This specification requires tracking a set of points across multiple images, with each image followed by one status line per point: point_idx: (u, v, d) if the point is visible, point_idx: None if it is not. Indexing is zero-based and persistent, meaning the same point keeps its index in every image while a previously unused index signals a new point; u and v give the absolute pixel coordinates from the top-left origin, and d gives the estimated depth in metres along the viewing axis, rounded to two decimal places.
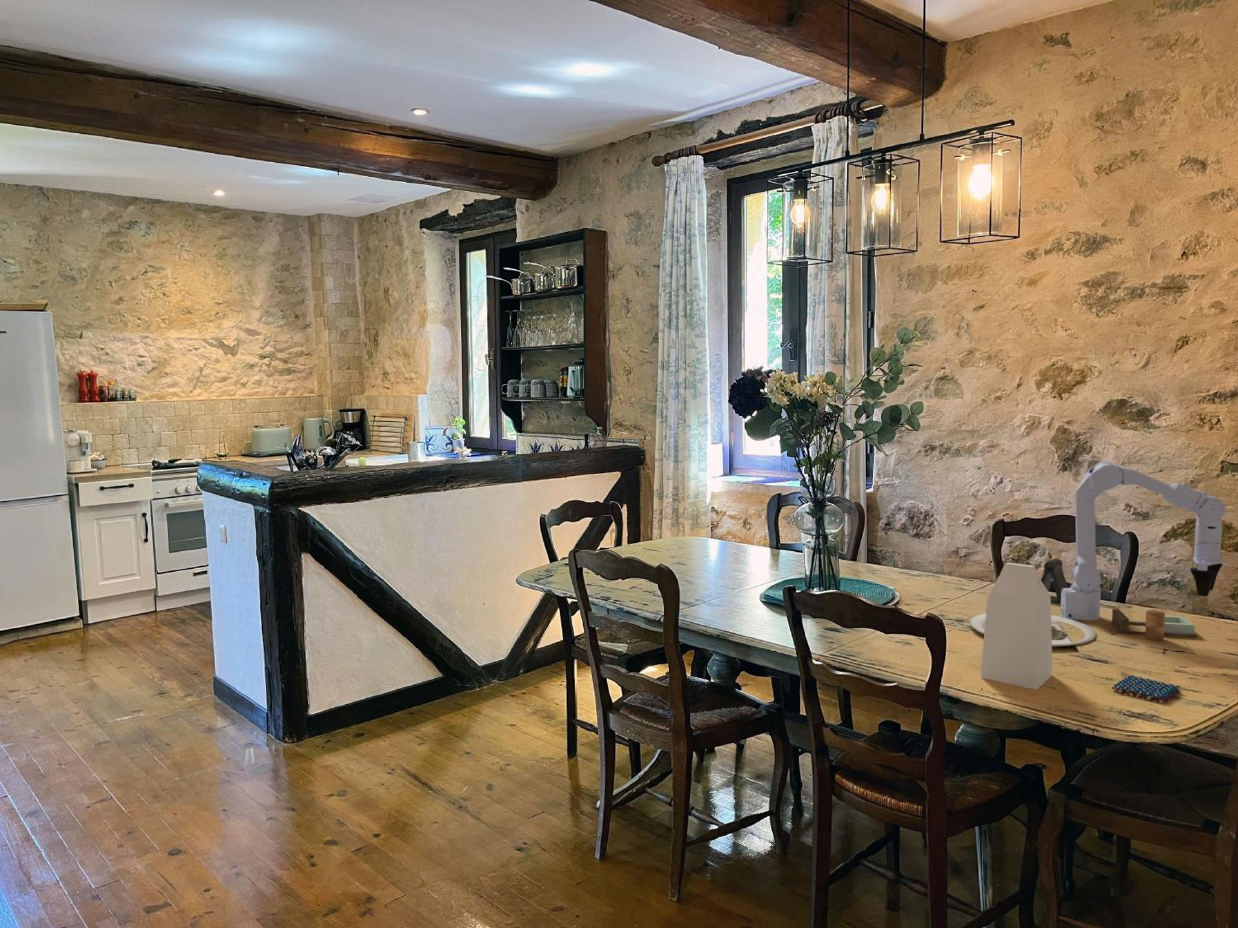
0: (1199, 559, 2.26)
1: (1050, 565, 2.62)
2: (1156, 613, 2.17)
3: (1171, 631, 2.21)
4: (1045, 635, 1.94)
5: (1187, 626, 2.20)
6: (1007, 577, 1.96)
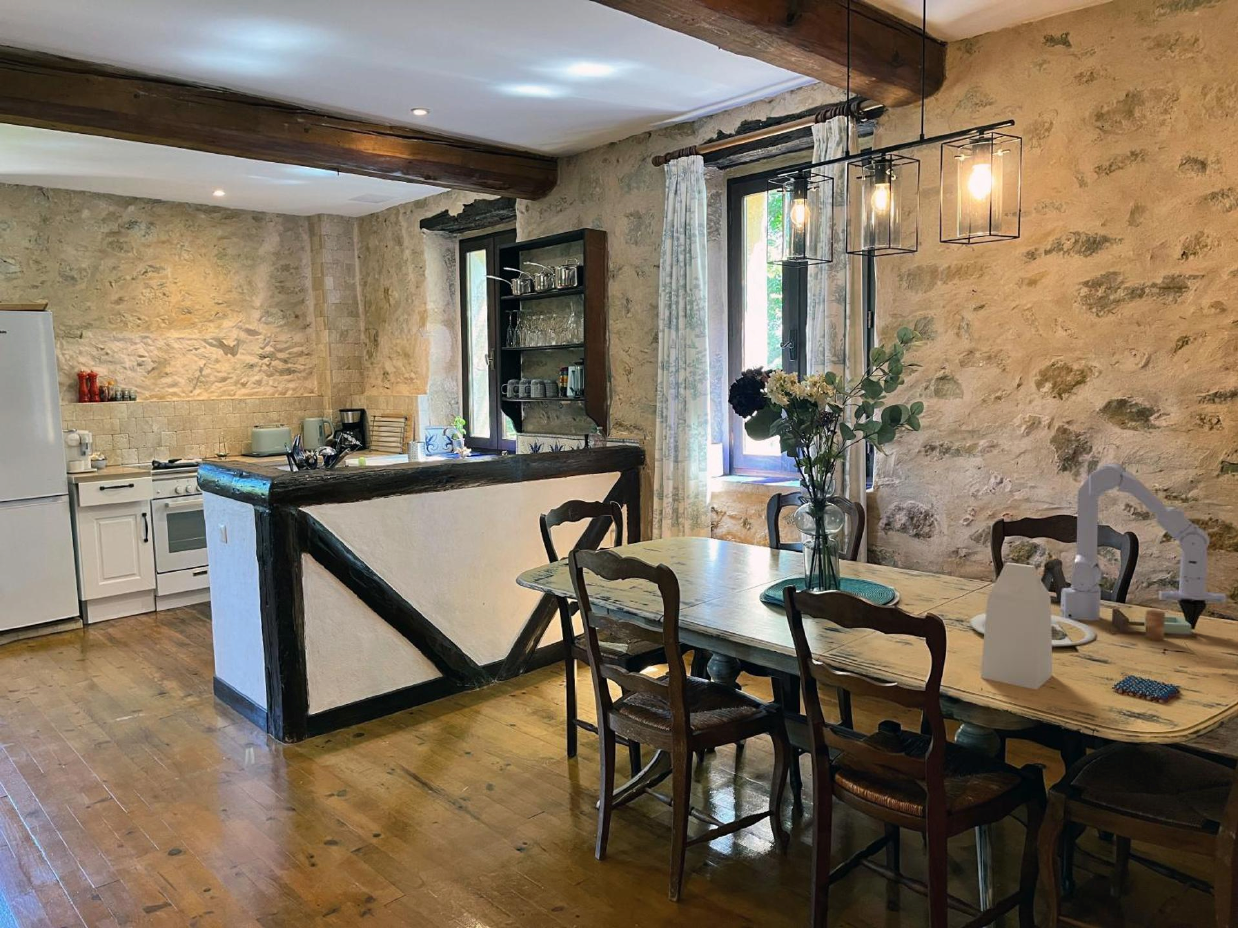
0: (1178, 591, 2.24)
1: (1050, 565, 2.62)
2: (1156, 613, 2.17)
3: (1168, 631, 2.21)
4: (1045, 635, 1.94)
5: (1184, 626, 2.20)
6: (1007, 577, 1.96)
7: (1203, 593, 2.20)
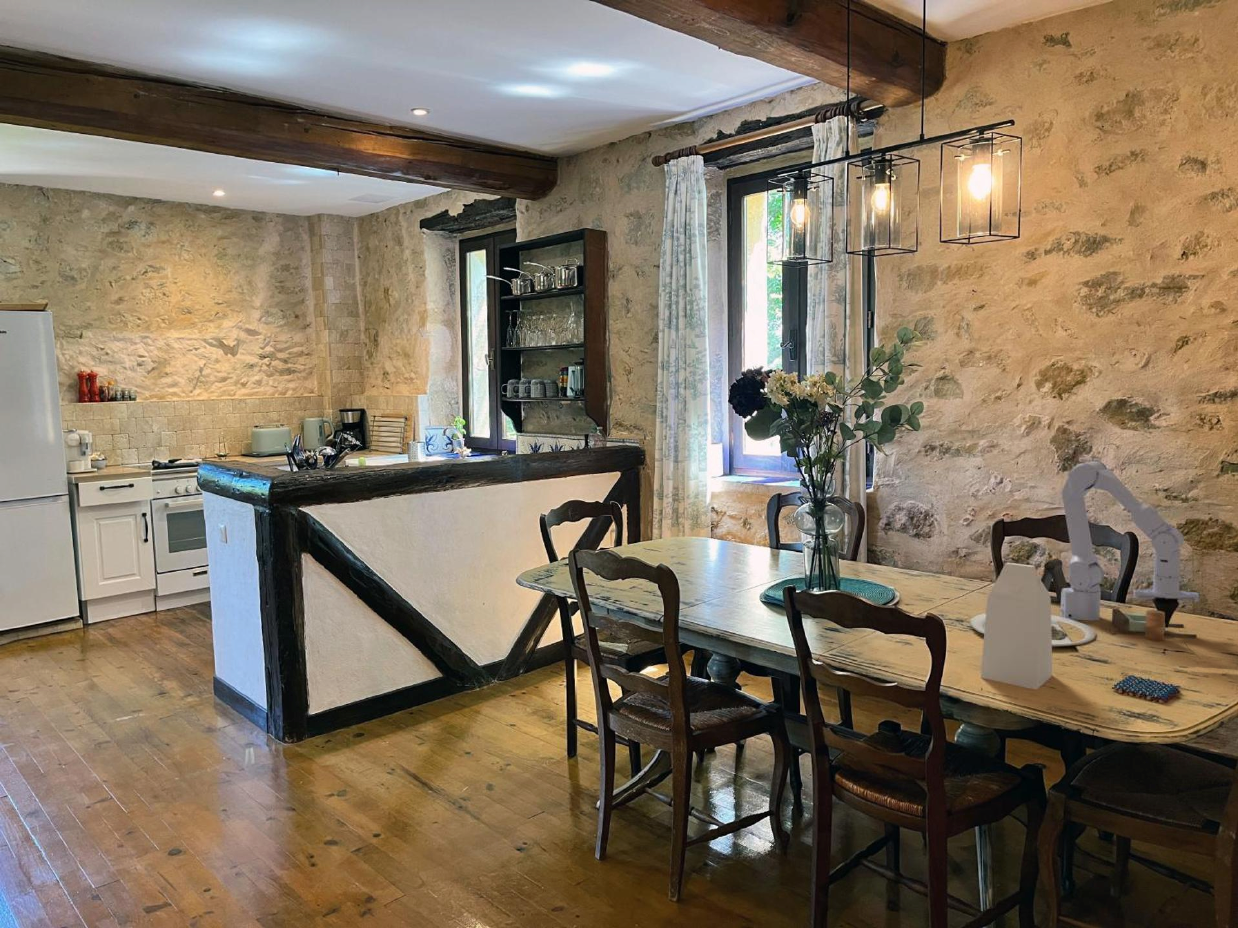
0: (1152, 590, 2.26)
1: (1050, 565, 2.62)
2: (1156, 613, 2.17)
3: (1142, 629, 2.23)
4: (1045, 635, 1.94)
5: None
6: (1007, 577, 1.96)
7: (1176, 592, 2.21)
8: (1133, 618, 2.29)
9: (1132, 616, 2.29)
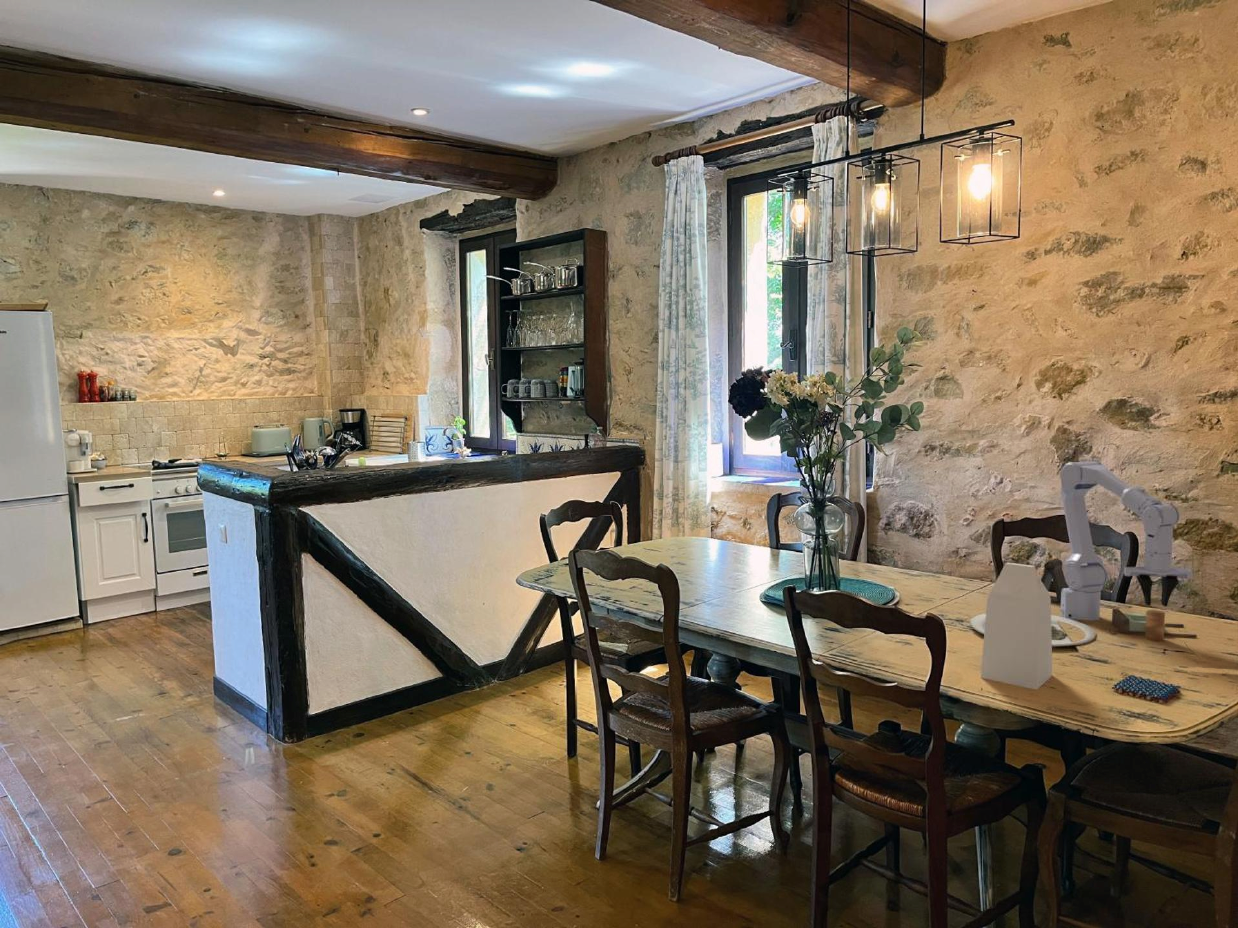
0: (1144, 567, 2.19)
1: (1050, 565, 2.62)
2: (1156, 613, 2.17)
3: (1142, 629, 2.23)
4: (1045, 635, 1.94)
5: None
6: (1007, 577, 1.96)
7: (1168, 568, 2.14)
8: (1133, 618, 2.29)
9: (1132, 616, 2.29)
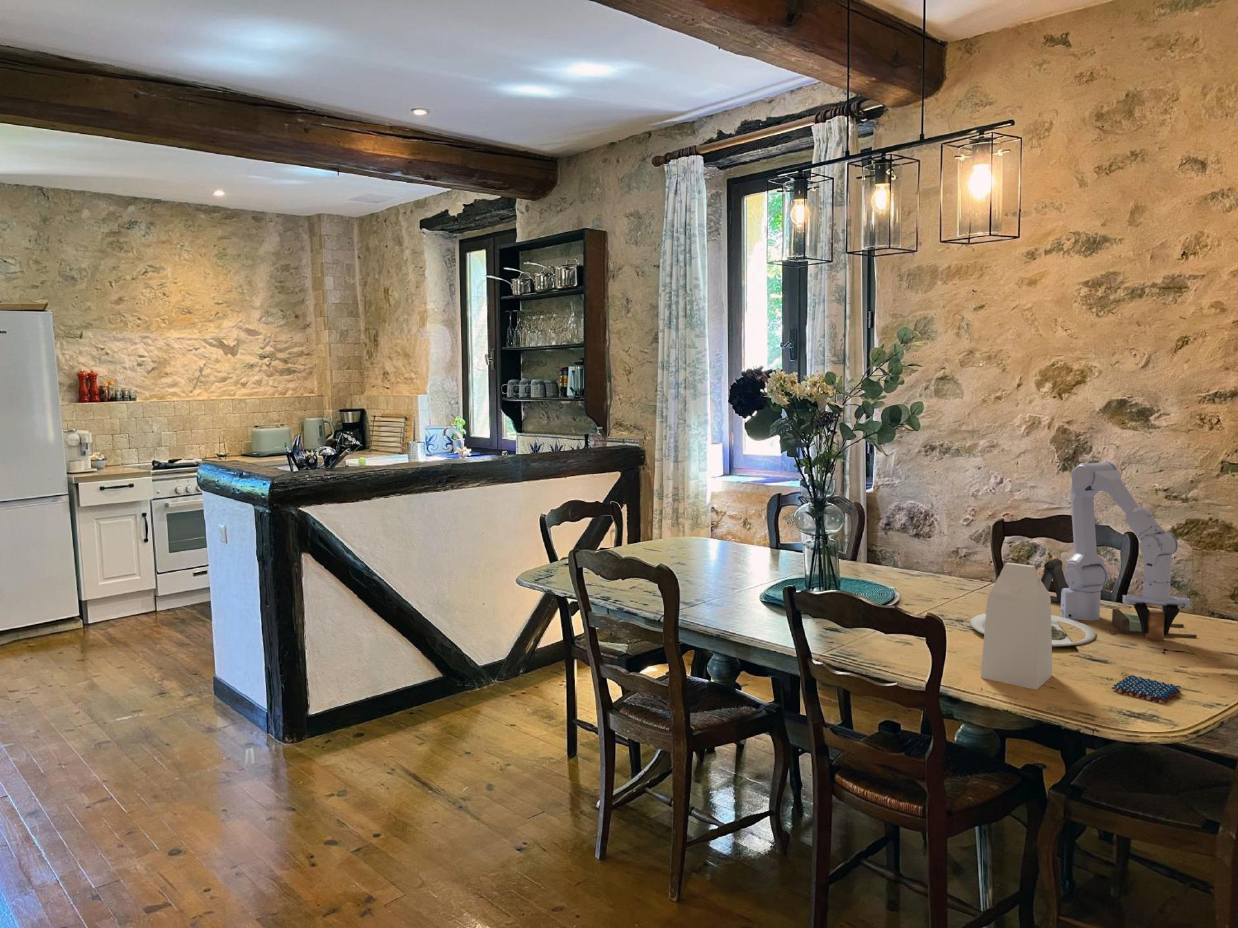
0: (1142, 595, 2.19)
1: (1050, 565, 2.62)
2: (1156, 613, 2.17)
3: None
4: (1045, 635, 1.94)
5: None
6: (1007, 577, 1.96)
7: (1167, 597, 2.15)
8: (1133, 618, 2.29)
9: (1132, 616, 2.29)
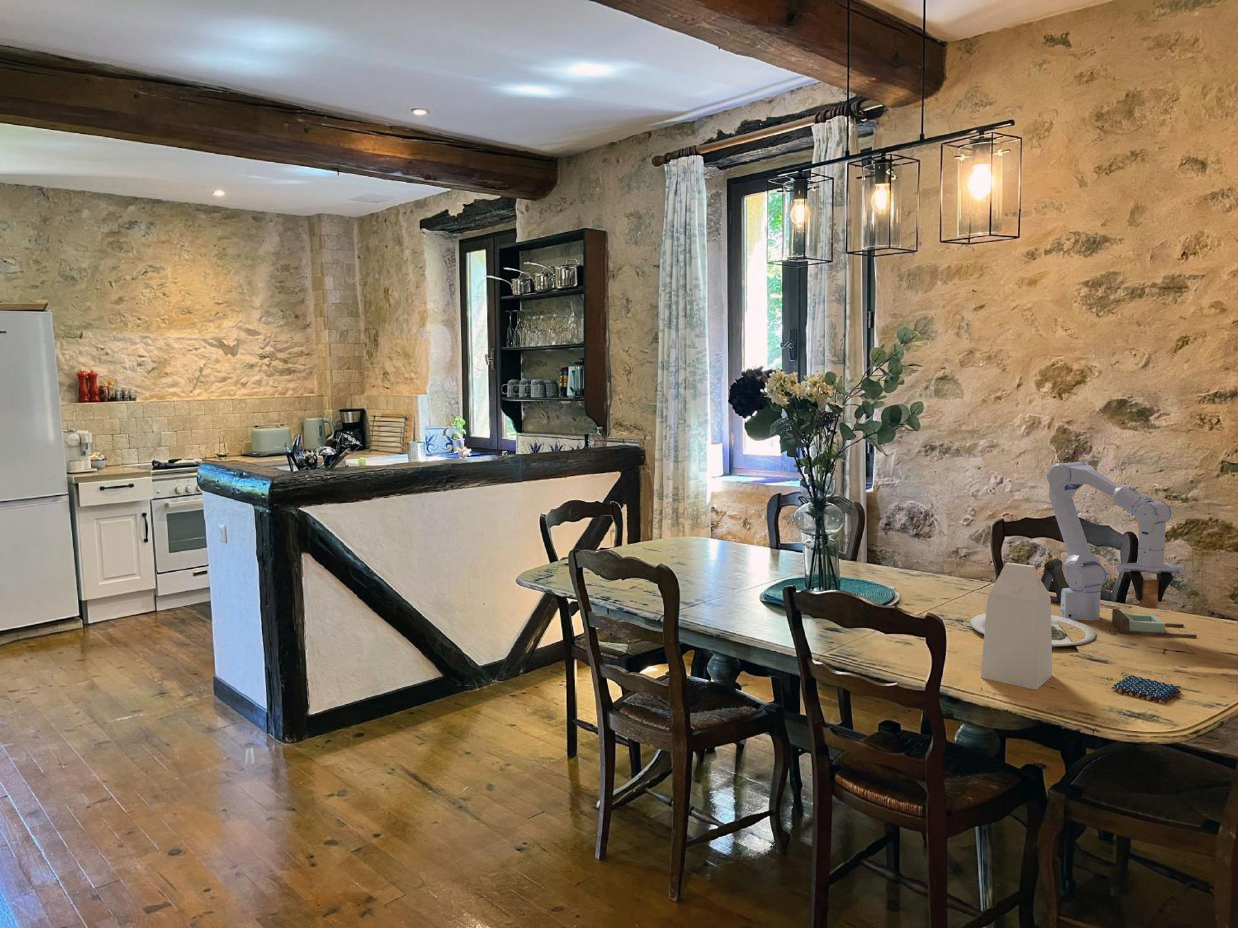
0: (1137, 563, 2.23)
1: (1050, 565, 2.62)
2: (1150, 580, 2.21)
3: (1142, 629, 2.23)
4: (1045, 635, 1.94)
5: (1158, 624, 2.22)
6: (1007, 577, 1.96)
7: (1161, 565, 2.19)
8: (1133, 618, 2.29)
9: (1132, 616, 2.29)
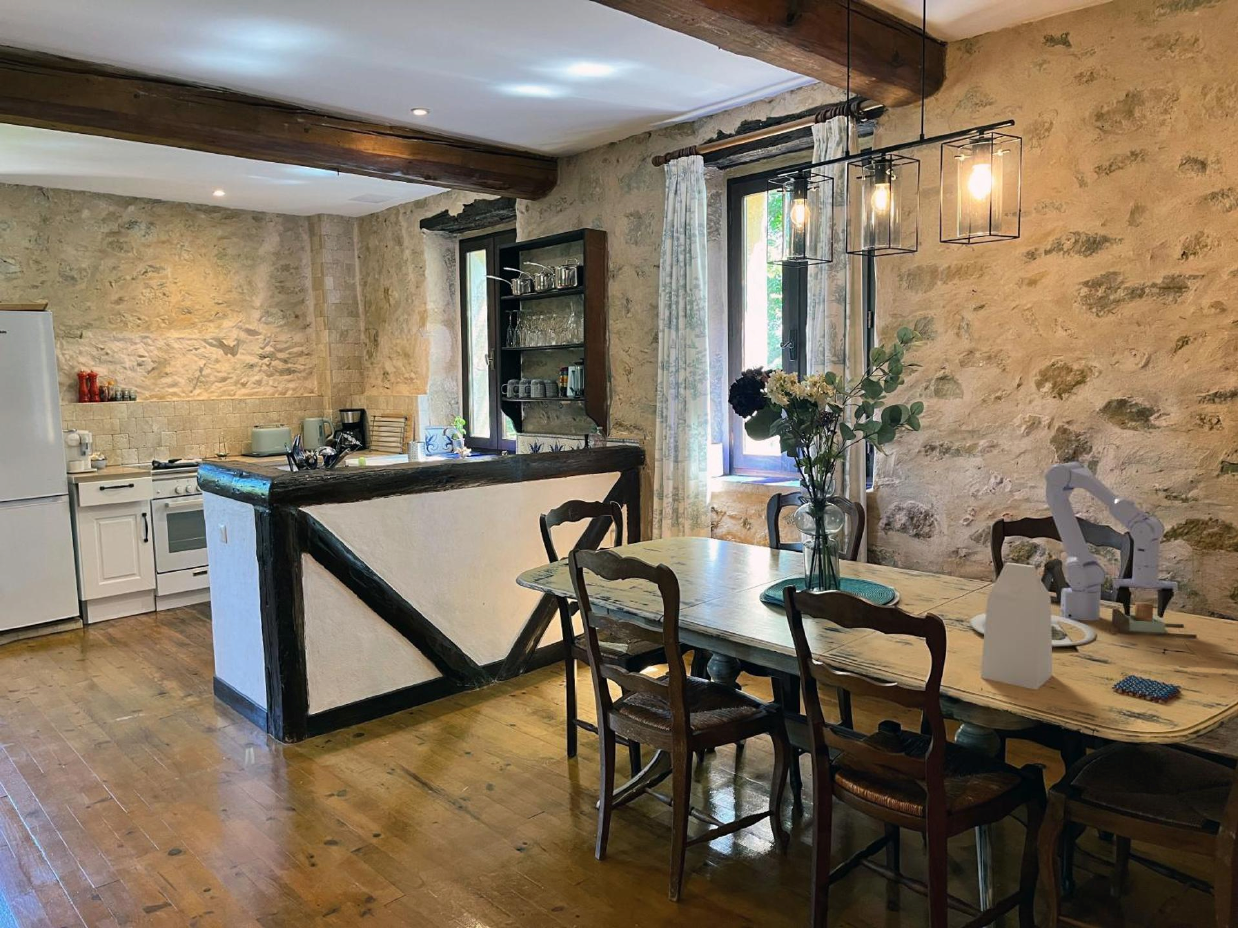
0: (1132, 579, 2.27)
1: (1050, 565, 2.62)
2: (1144, 604, 2.25)
3: (1142, 629, 2.23)
4: (1045, 635, 1.94)
5: (1158, 624, 2.22)
6: (1007, 577, 1.96)
7: (1155, 581, 2.22)
8: (1133, 618, 2.29)
9: (1132, 616, 2.29)
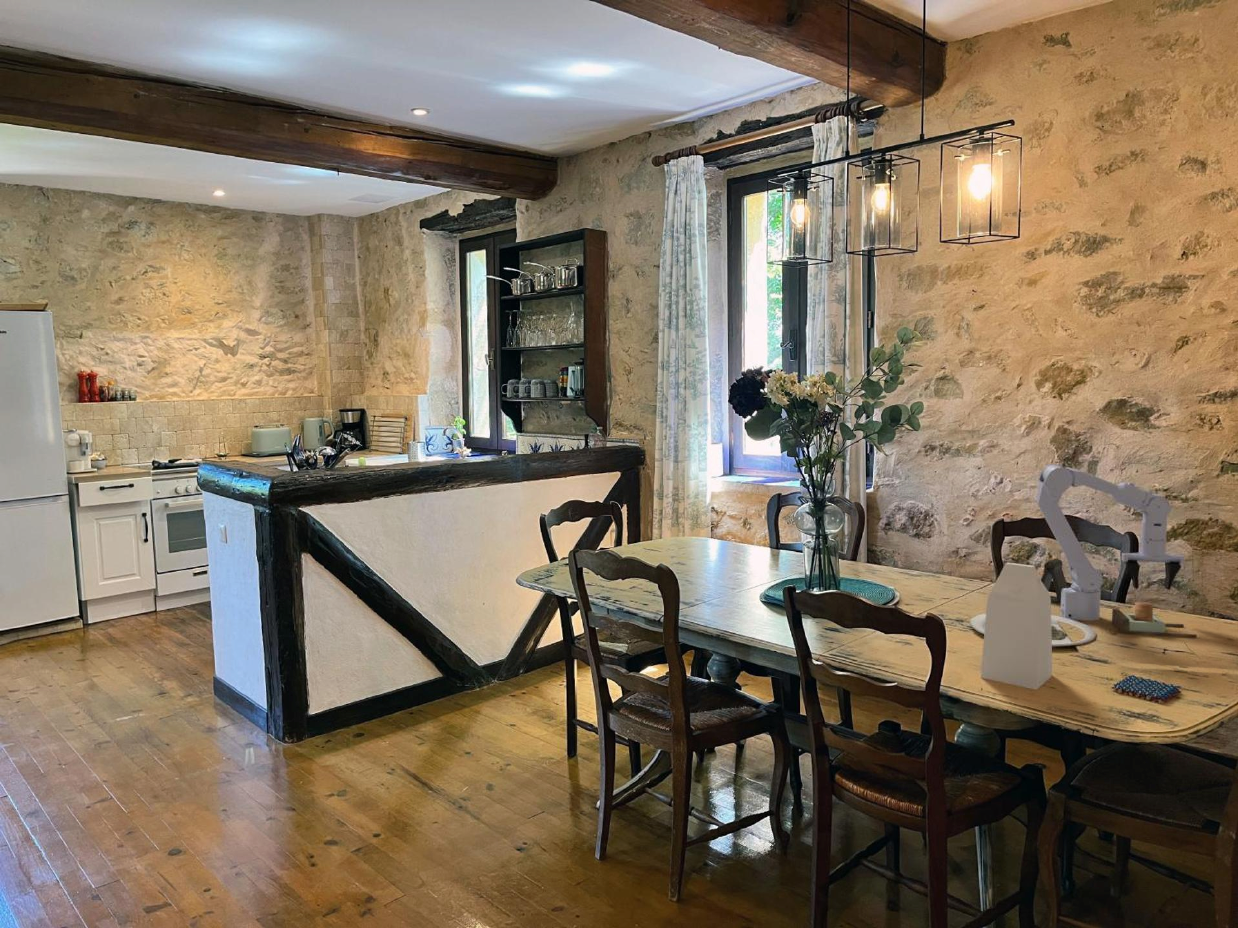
0: (1140, 553, 2.35)
1: (1050, 565, 2.62)
2: (1145, 604, 2.25)
3: (1142, 629, 2.23)
4: (1045, 635, 1.94)
5: (1158, 624, 2.22)
6: (1007, 577, 1.96)
7: (1163, 554, 2.30)
8: (1133, 618, 2.29)
9: (1132, 616, 2.29)
